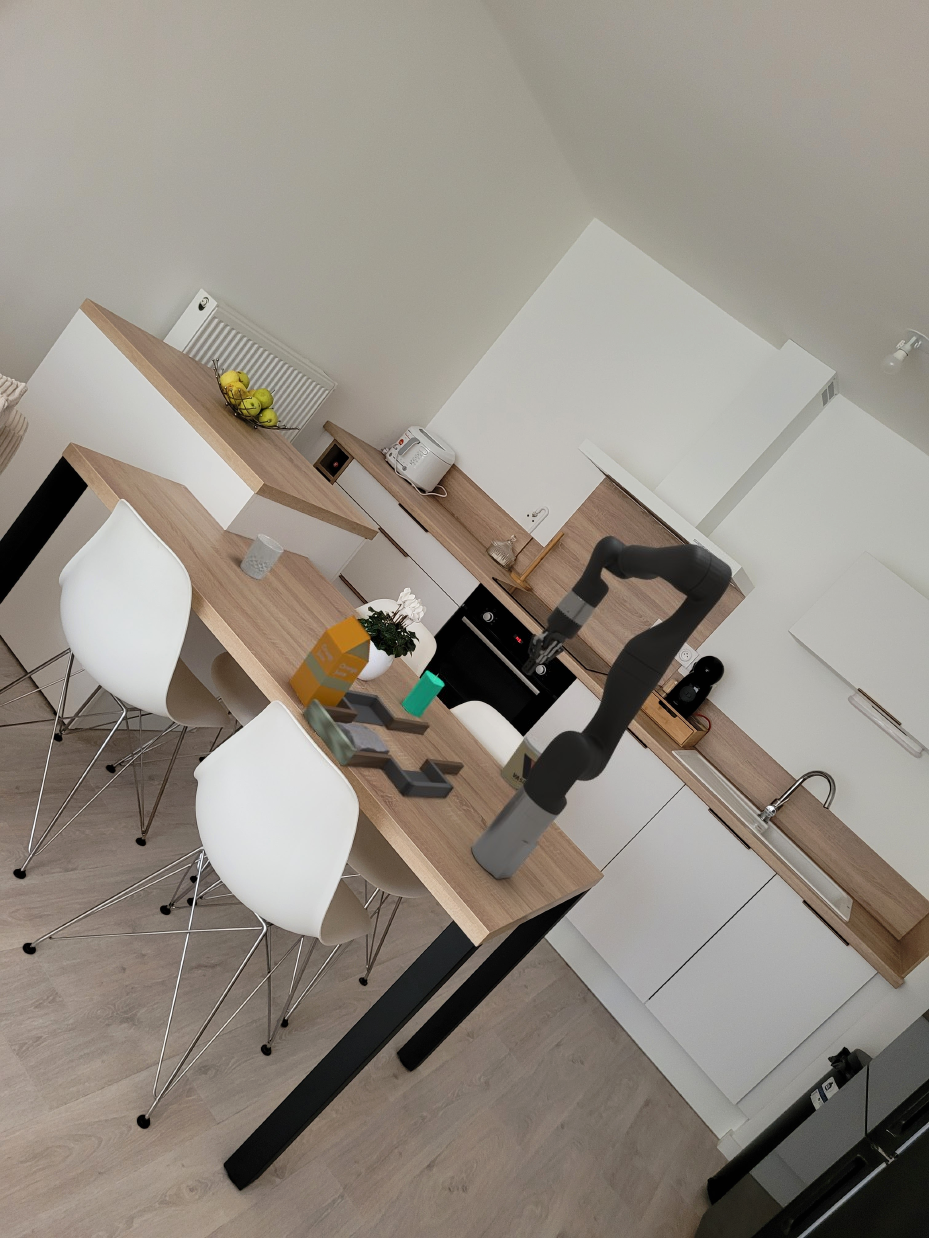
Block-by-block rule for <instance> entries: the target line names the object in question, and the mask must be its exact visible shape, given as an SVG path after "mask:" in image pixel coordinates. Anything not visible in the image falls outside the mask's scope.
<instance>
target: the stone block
mask: <svg viewBox="0 0 929 1238" xmlns="http://www.w3.org/2000/svg"><path fill="white" fill-rule="evenodd" d="M335 723H336V725H337V726H338V727H339V729H340V730H341V731H342V732H343V734H344V735H345V736H346V738H347V739H348V740H349V742H350V743H351V744H352V745H353V747H354V748H355V749H356V751H363V752H372V753H381V754H390V748H388V746H387V745H386V743H385V742H384V740H383V738H382V737H381V736H380V735H379V734H378V732H376V731H374V730H373V729H371V727H368V726H367V725H364V724H363V723H357V722H352V723H348V724H345V723H340V722H335Z"/></svg>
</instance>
